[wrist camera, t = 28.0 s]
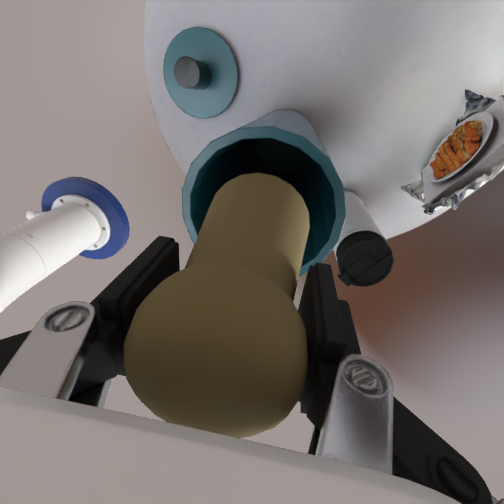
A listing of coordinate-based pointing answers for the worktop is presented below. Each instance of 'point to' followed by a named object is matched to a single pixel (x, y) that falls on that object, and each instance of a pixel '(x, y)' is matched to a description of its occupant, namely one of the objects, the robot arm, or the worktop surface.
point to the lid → (200, 72)
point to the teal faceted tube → (277, 164)
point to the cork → (228, 317)
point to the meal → (464, 155)
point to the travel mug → (361, 247)
